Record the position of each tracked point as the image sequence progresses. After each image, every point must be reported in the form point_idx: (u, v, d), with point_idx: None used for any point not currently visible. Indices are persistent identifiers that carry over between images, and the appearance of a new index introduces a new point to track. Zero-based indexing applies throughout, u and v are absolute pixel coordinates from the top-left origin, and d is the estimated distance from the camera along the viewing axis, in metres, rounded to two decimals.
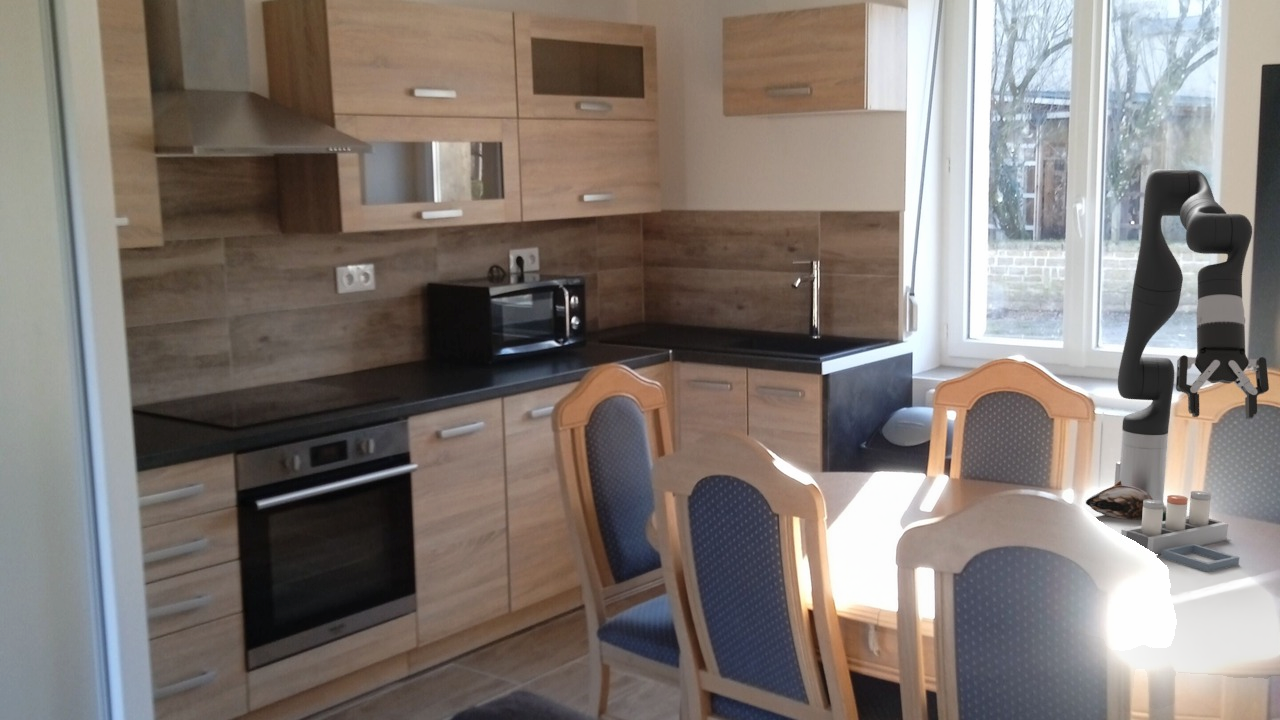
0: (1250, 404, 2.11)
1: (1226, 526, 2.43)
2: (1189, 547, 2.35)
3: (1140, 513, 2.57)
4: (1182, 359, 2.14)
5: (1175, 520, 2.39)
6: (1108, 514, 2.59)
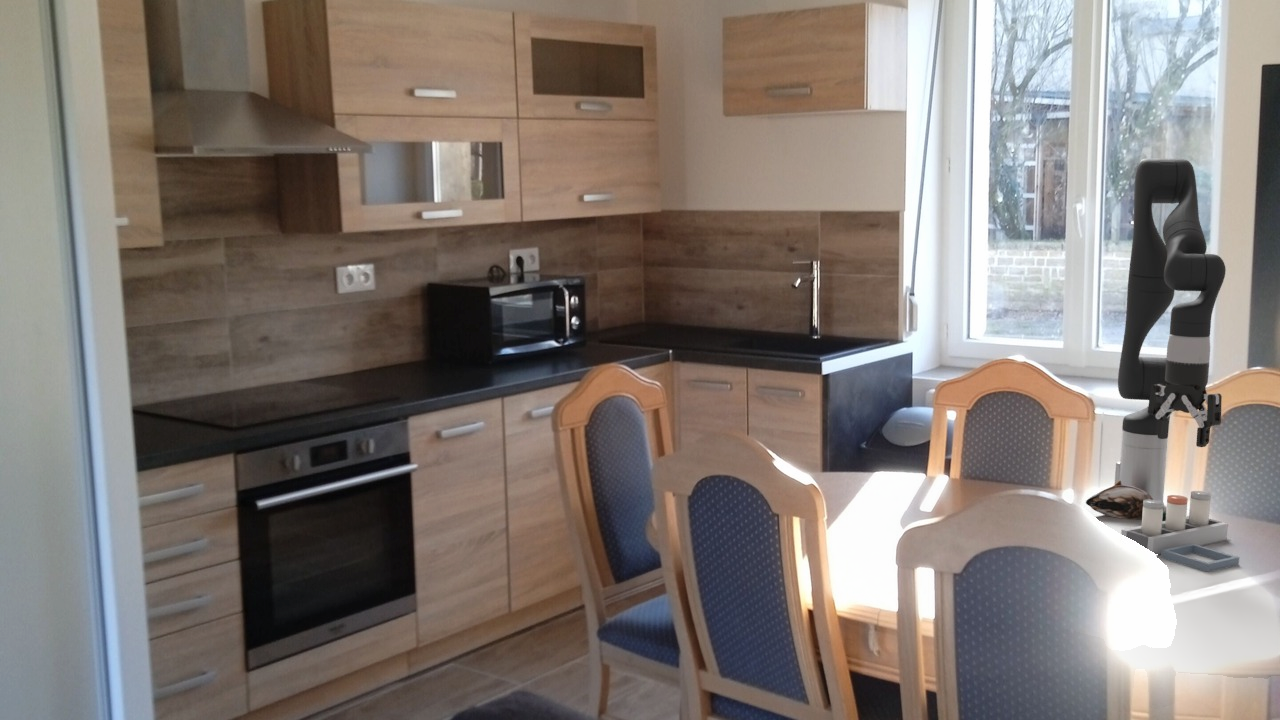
0: (1198, 435, 2.34)
1: (1226, 526, 2.43)
2: (1189, 547, 2.35)
3: (1140, 513, 2.57)
4: (1152, 388, 2.42)
5: (1175, 519, 2.39)
6: (1108, 514, 2.60)
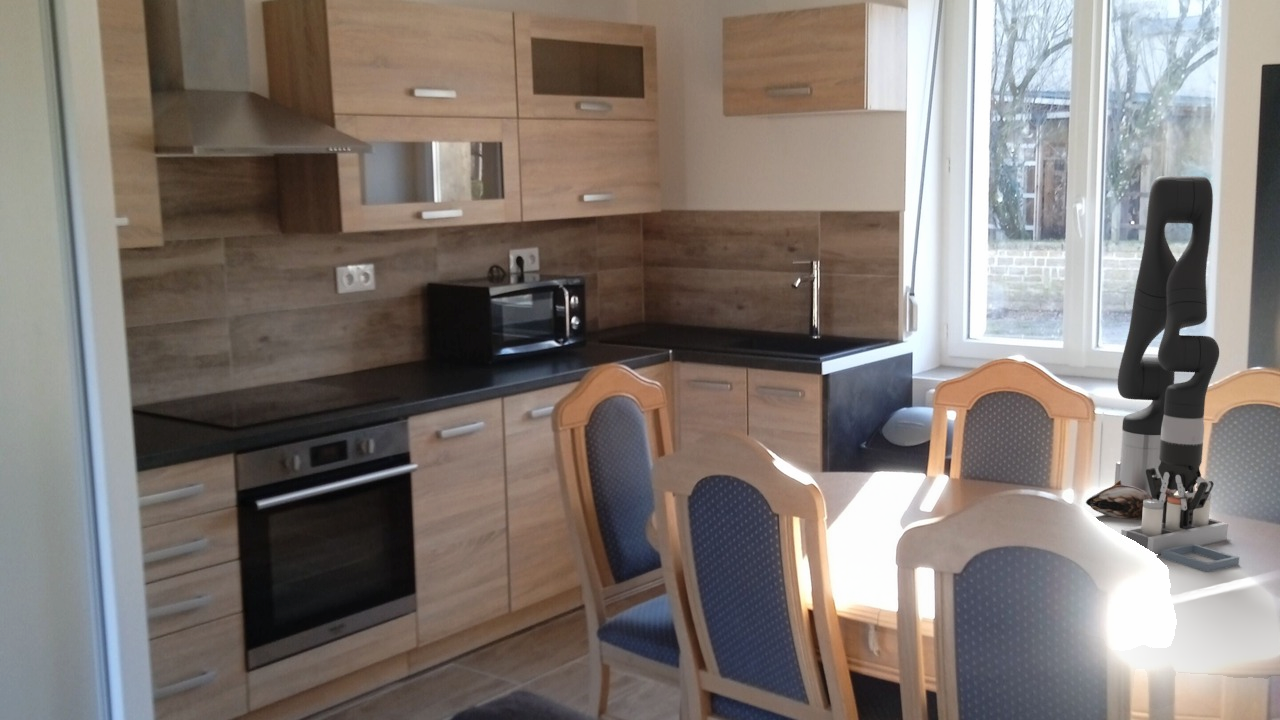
0: (1181, 517, 2.39)
1: (1226, 526, 2.43)
2: (1189, 547, 2.35)
3: (1140, 513, 2.58)
4: (1147, 473, 2.45)
5: (1175, 520, 2.39)
6: (1108, 514, 2.60)
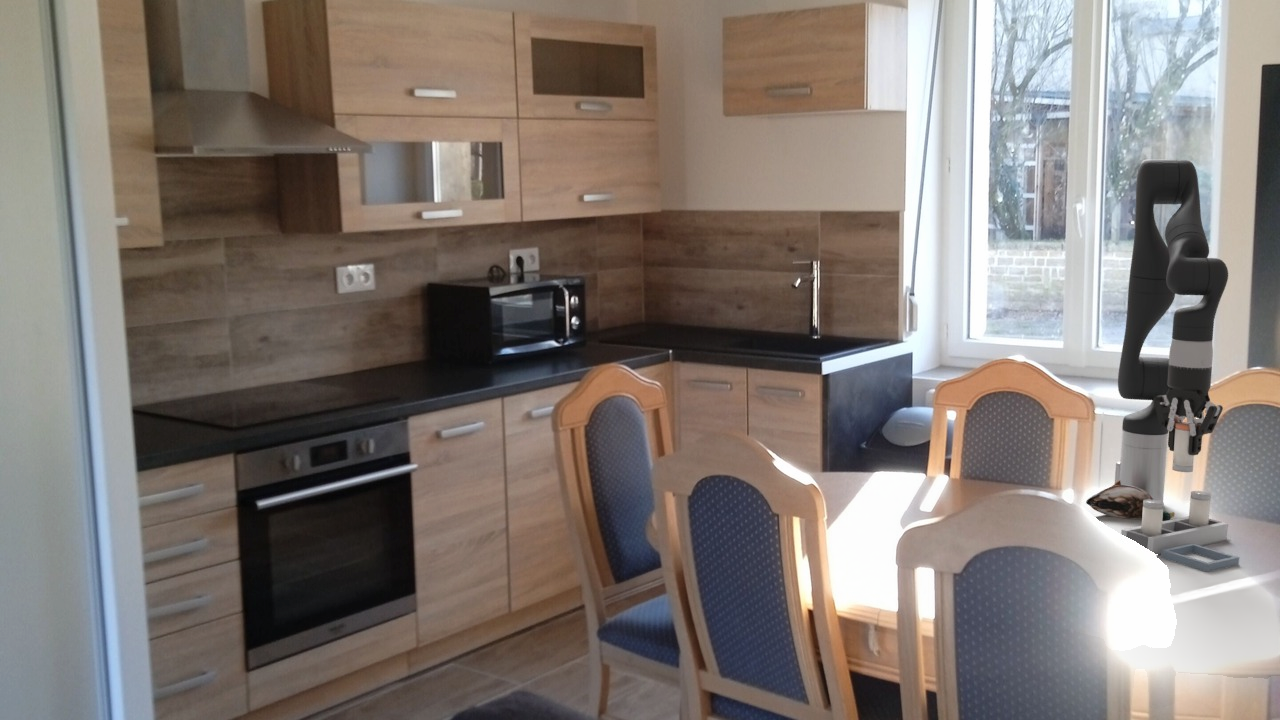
0: (1190, 443, 2.35)
1: (1226, 526, 2.43)
2: (1189, 547, 2.35)
3: (1140, 512, 2.58)
4: (1155, 400, 2.41)
5: (1183, 446, 2.36)
6: (1108, 514, 2.60)
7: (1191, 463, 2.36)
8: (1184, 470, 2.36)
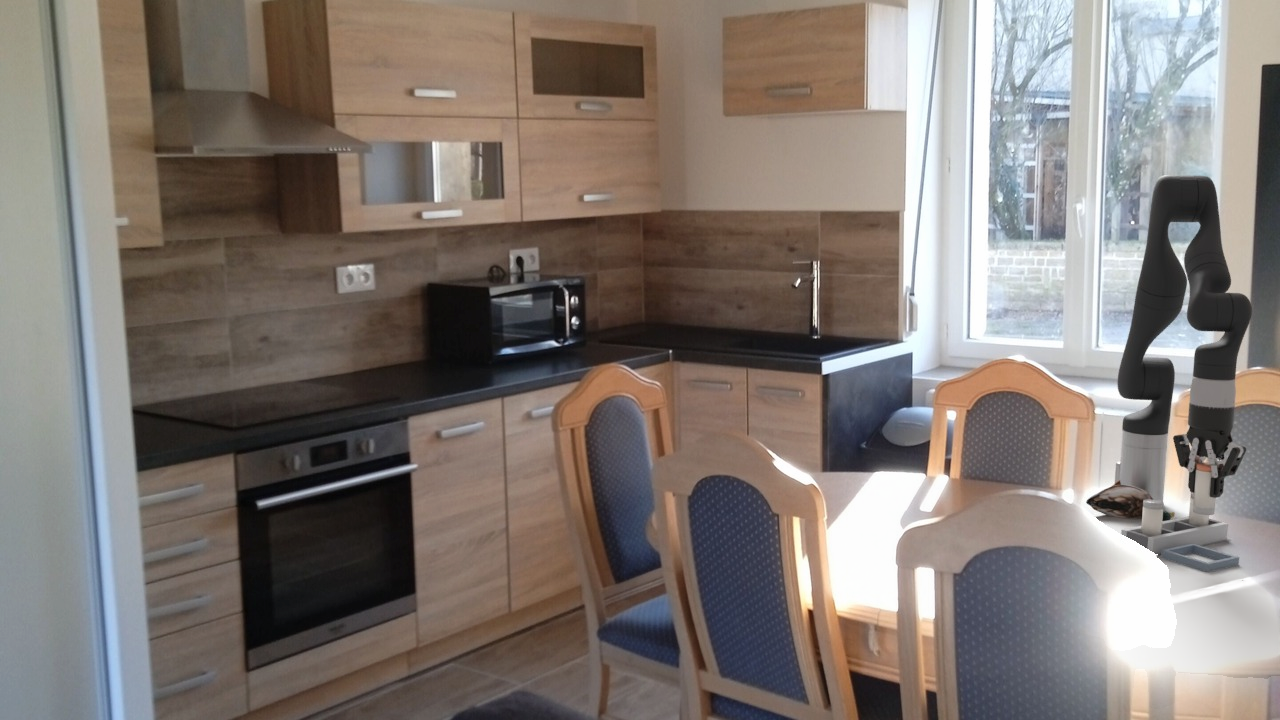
0: (1211, 486, 2.26)
1: (1226, 526, 2.43)
2: (1189, 547, 2.35)
3: (1140, 512, 2.58)
4: (1174, 439, 2.32)
5: (1204, 488, 2.26)
6: (1108, 513, 2.60)
7: (1213, 505, 2.27)
8: (1205, 513, 2.27)
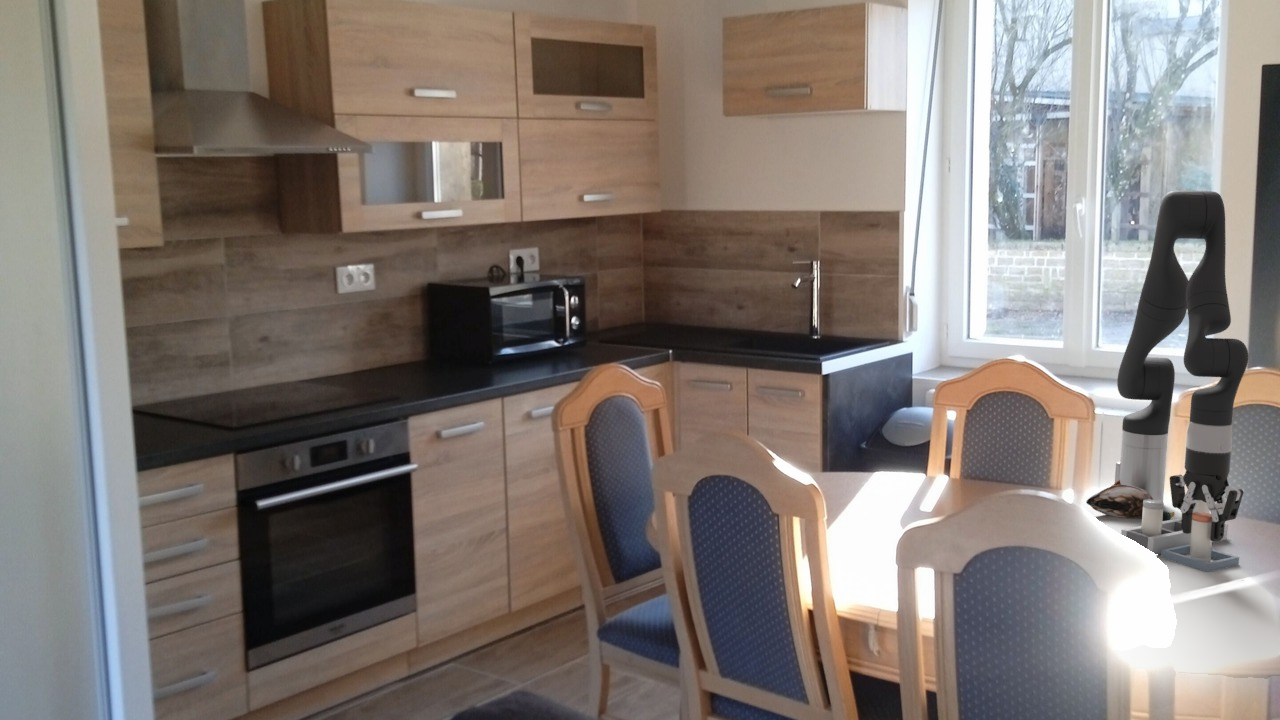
0: (1212, 529, 2.26)
1: (1226, 526, 2.43)
2: (1189, 547, 2.35)
3: (1140, 512, 2.58)
4: (1171, 480, 2.33)
5: (1200, 538, 2.28)
6: (1108, 513, 2.60)
7: (1209, 555, 2.28)
8: None
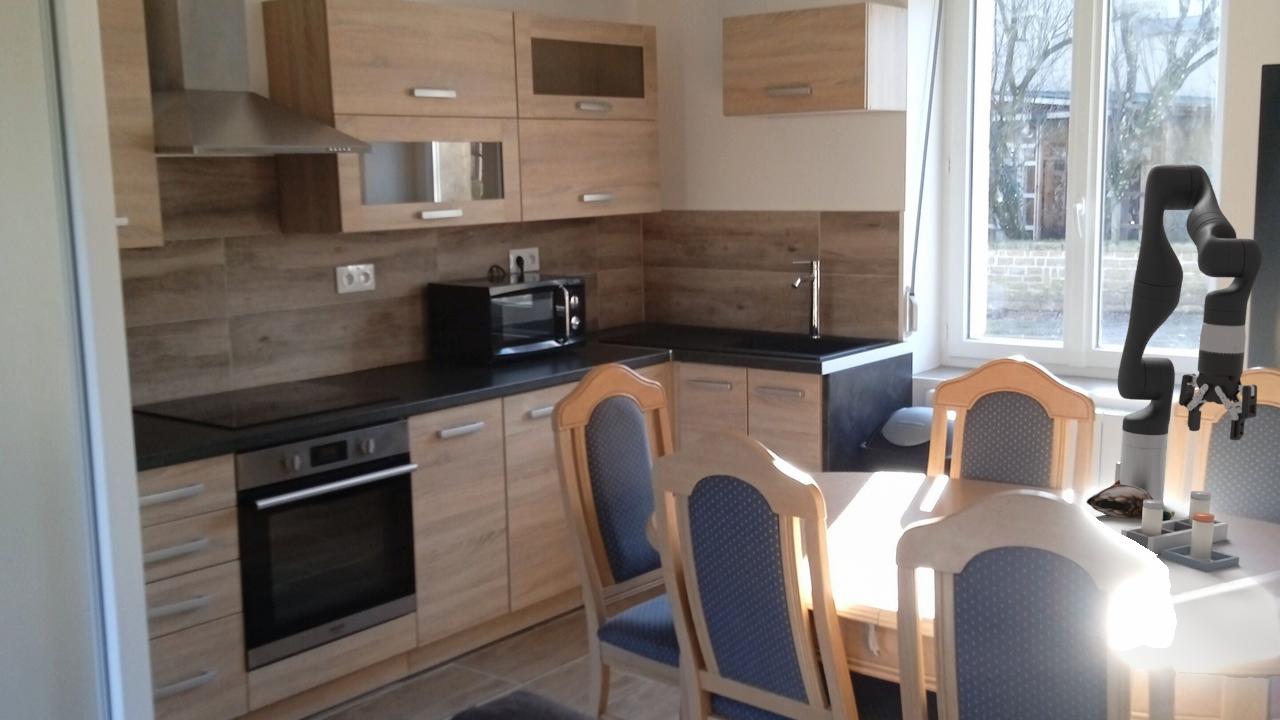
0: (1232, 428, 2.25)
1: (1226, 526, 2.43)
2: (1189, 547, 2.35)
3: (1140, 512, 2.58)
4: (1183, 378, 2.33)
5: (1201, 538, 2.28)
6: (1109, 513, 2.60)
7: (1209, 556, 2.28)
8: None
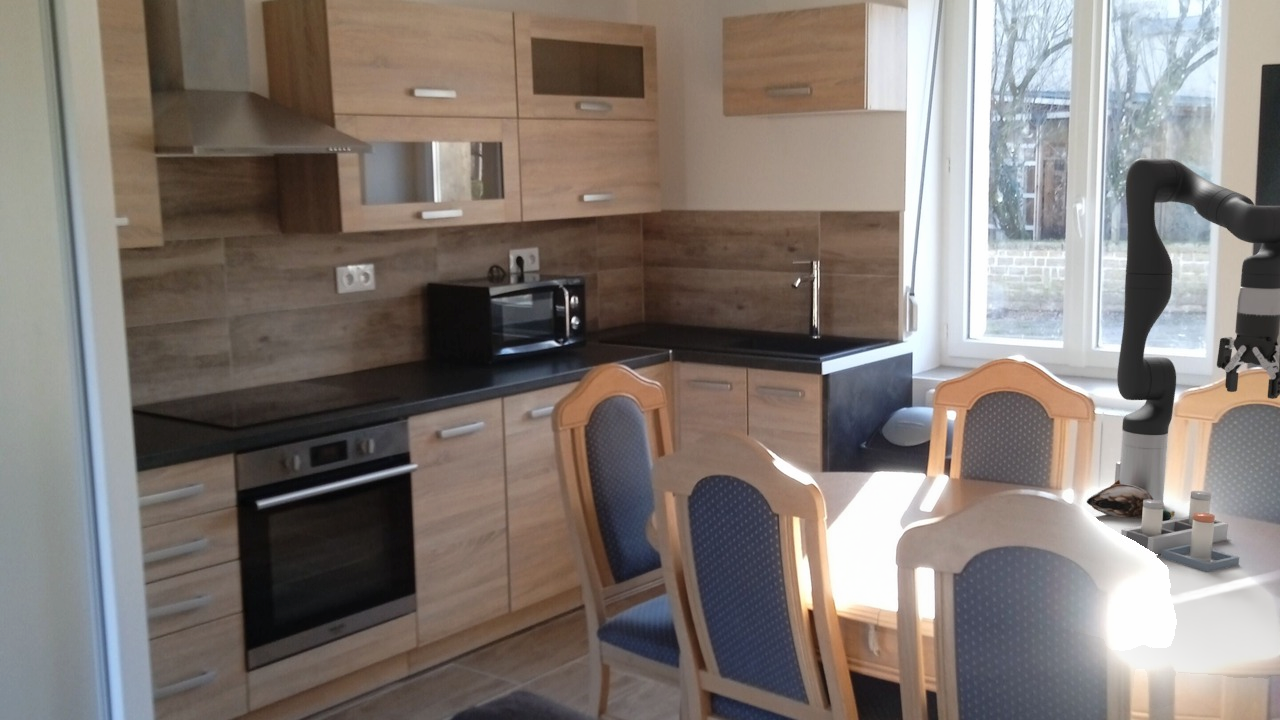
0: (1269, 387, 2.35)
1: (1226, 526, 2.43)
2: (1189, 547, 2.35)
3: (1140, 511, 2.58)
4: (1221, 341, 2.43)
5: (1201, 538, 2.28)
6: (1109, 513, 2.60)
7: (1209, 556, 2.28)
8: None
